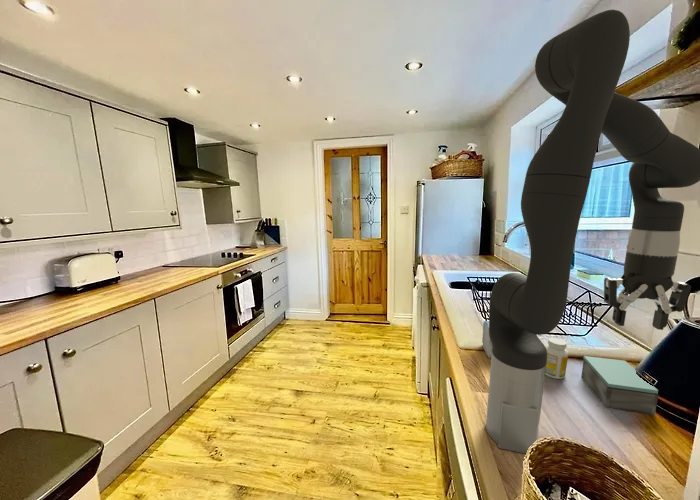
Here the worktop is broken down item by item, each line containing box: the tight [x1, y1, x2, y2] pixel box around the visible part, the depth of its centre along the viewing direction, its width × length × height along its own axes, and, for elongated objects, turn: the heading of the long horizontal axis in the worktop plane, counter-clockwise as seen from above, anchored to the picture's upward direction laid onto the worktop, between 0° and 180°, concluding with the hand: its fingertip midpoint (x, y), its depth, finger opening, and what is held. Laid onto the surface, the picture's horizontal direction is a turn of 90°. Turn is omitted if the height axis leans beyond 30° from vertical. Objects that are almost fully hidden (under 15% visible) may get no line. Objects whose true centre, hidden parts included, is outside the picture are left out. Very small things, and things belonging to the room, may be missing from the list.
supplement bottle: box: [544, 337, 569, 380], centre depth 80 cm, size 5×5×10 cm
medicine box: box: [481, 320, 492, 359], centre depth 91 cm, size 8×4×9 cm, turn 169°
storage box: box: [580, 359, 659, 417], centre depth 71 cm, size 12×9×5 cm
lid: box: [582, 355, 659, 395], centre depth 71 cm, size 12×9×1 cm
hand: (638, 326), depth 64 cm, fingers open, 6 cm apart
